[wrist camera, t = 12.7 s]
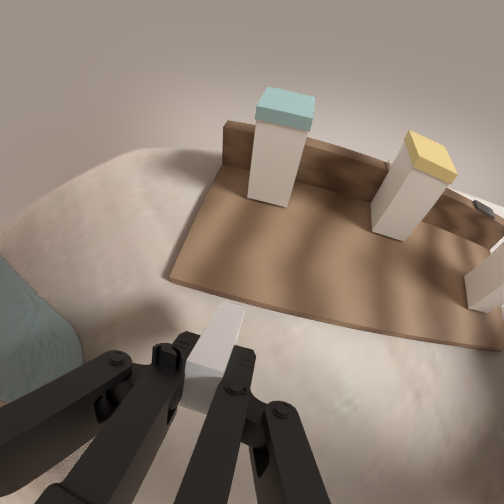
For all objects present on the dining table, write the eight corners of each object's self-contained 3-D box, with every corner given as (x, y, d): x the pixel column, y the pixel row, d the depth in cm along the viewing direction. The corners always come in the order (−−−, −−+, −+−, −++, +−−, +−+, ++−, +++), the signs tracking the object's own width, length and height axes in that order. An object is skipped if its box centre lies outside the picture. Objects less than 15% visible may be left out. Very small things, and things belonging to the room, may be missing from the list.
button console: (483, 245, 29) (508, 219, 24) (499, 351, 21) (536, 332, 15) (226, 162, 31) (227, 117, 26) (171, 282, 23) (155, 239, 17)
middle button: (401, 213, 28) (444, 146, 19) (404, 242, 26) (457, 174, 17) (369, 202, 28) (408, 129, 20) (371, 231, 26) (419, 156, 17)
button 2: (293, 180, 29) (316, 97, 20) (287, 208, 27) (312, 118, 18) (255, 171, 29) (267, 86, 20) (245, 198, 27) (256, 105, 18)
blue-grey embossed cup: (100, 410, 16) (-5, 394, 6) (15, 414, 14) (-82, 388, 4) (83, 296, 21) (9, 210, 11) (7, 314, 19) (-69, 251, 8)
